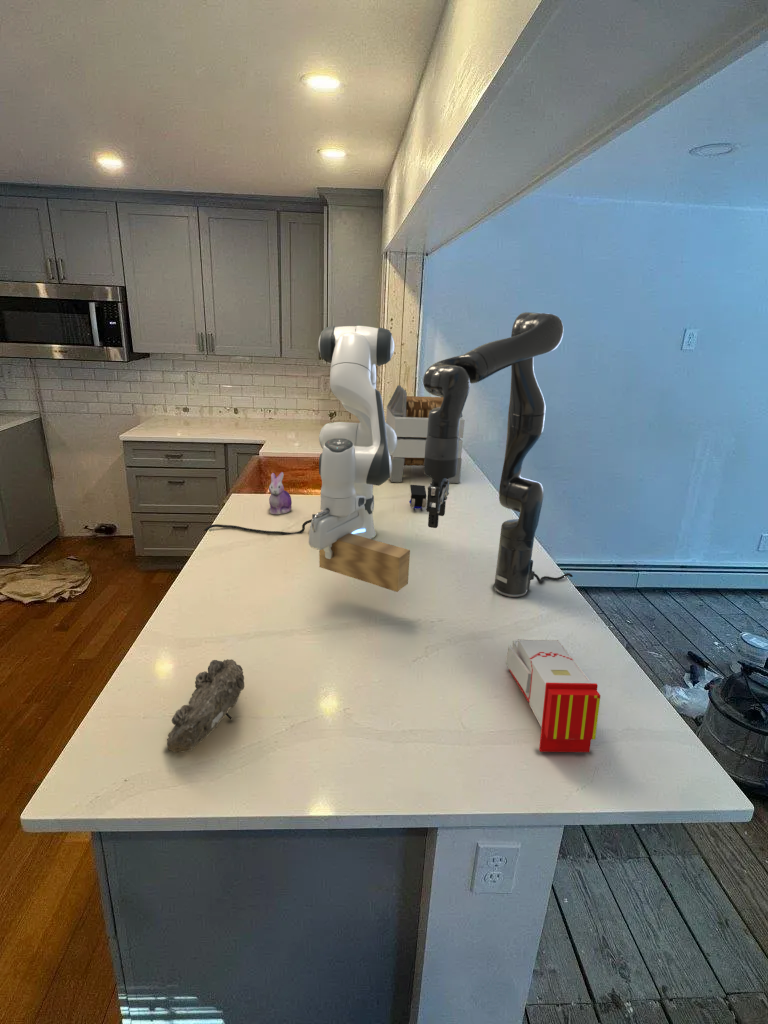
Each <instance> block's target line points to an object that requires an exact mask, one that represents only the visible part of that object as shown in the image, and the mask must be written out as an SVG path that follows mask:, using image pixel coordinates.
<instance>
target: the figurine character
mask: <svg viewBox="0 0 768 1024" xmlns="http://www.w3.org/2000/svg"><path fill="white" fill-rule="evenodd" d="M409 487H410V500H409V501H408V502H409V506H410V508H412V509H413V510H412V511H413V512H416V510H420V512H423V508H425V509H426V508H427V497H428V494H427V491H426V486H425V485H421V484H410V486H409Z"/></svg>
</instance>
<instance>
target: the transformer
mask: <svg viewBox="0 0 768 1024" xmlns="http://www.w3.org/2000/svg"><path fill="white" fill-rule="evenodd" d="M407 394H408V393H407V390H406V389H404V388H403V387H402V385H399V384H398V385H397V386H396V388H395V390H394V392H393V394H392V395H391V398H390V400H389V402H388V404H387V405H386V413H385V414H386V415H385V422H386V423H387V424H388V425H389V426H390V427H392V428H393V430H394V431H395V433H396V436H397V446H396V449H395V451H394V452H393V453H392V454H391V455H390V457H391V461H392V472H391V475H390V478H389V480H390V482H391V483H402V482H403V475H404V469H405V466H406V467H407V466H411V467H412V466H413V467H415V466H416V467H417V466H418V467H424V459H425V444H426V439H427V429H428V416H429V412H430V411H431V410H432V409H434V408H438V407H441V405H442V402H443V398H444V397H439V396H415V395H414V396H413V395H412V396H411V395H407ZM464 429H465V419H464V418H463V412H462V413H461V416H460V421H459V433H458V443H459V448H458V460H457V472H456V475H455V476H454V477H452V478H449V484H455V483H456V484H459V483H461V472H462V461H463V460H462V453H463V442H464V441H463V440H462V439H463V438H464V431H465V430H464Z"/></svg>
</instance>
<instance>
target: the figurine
mask: <svg viewBox="0 0 768 1024" xmlns="http://www.w3.org/2000/svg"><path fill="white" fill-rule="evenodd" d="M284 476H285V475H284V472H283V471H281V472H280V473H279V474H278V475H276V474H275V473H274V472H272V473H271V474H270V484H269V486H268V492H269V493H270V495H269V498H268V504H269V507H270V508H269V513H270V514H271V515H281V514H286V513H289V512H291V510H292V503H293V501H292V496H291V494H290V493H289V492H288V491H287V490H285V487H284V484H283V479H284Z"/></svg>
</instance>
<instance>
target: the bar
mask: <svg viewBox="0 0 768 1024" xmlns="http://www.w3.org/2000/svg"><path fill="white" fill-rule="evenodd" d="M330 548H331V550H332V551H334V557H333V558H331V559H327V558H326V557H325V551H324V549H322V550H318V551H319V557H318V559H319V560H318V563H319V564H318V565H319V567H318V568H321V569H324V570H328V571H330V572H333V573H336V574H340V575H342V576H346V577H349V578H352V579H356V580H358V581H361V582H364V583H367V584H370V585H371V584H372V585H375V586H376V587H380V588H383V589H387V590H389V591H392V592H397V593H398V592H400V591H401V590H402V589H403V588H404V587H406V586H407V585H408V584H409V575H410V559H411V558H410V557H411V550H410V549H408V548H404V547H400V546H397V545H393V544H390V543H386V542H382V541H379V540H375V539H373V538H372V539H368V538H365V537H361V536H358V535H354V534H350V533H348V534H346V535H345V536H343V537H341V538H339V539H337V541H336V542H334V543H333V544H332V547H330Z"/></svg>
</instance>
